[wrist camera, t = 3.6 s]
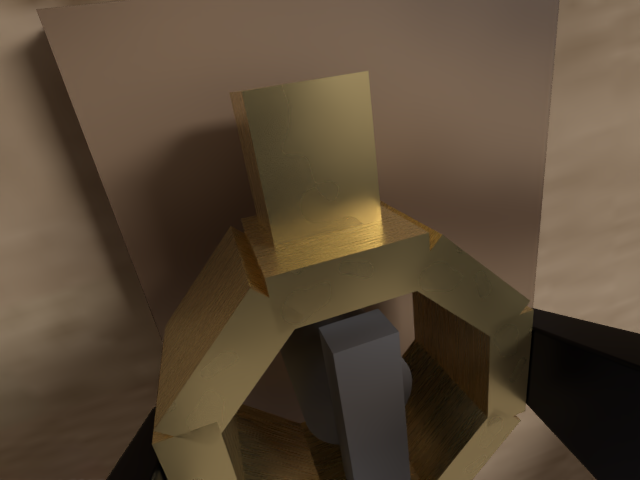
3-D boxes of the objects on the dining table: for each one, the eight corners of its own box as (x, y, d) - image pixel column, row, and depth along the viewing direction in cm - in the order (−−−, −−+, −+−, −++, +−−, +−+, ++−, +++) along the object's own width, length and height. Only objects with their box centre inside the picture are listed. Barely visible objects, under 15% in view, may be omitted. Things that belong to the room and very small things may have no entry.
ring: (446, 393, 12) (519, 477, 9) (218, 482, 11) (228, 614, 8) (439, 58, 8) (557, 40, 6) (82, 115, 7) (9, 129, 4)
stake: (510, 325, 15) (654, 428, 11) (206, 434, 13) (216, 639, 8) (531, -33, 11) (807, -135, 6) (53, 19, 8) (-153, -98, 3)
